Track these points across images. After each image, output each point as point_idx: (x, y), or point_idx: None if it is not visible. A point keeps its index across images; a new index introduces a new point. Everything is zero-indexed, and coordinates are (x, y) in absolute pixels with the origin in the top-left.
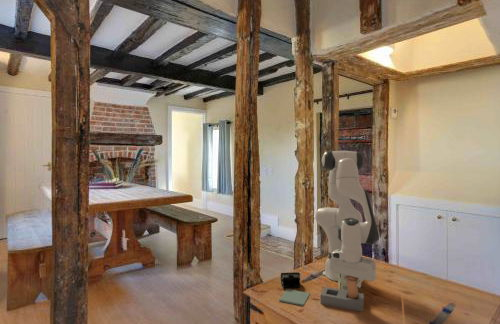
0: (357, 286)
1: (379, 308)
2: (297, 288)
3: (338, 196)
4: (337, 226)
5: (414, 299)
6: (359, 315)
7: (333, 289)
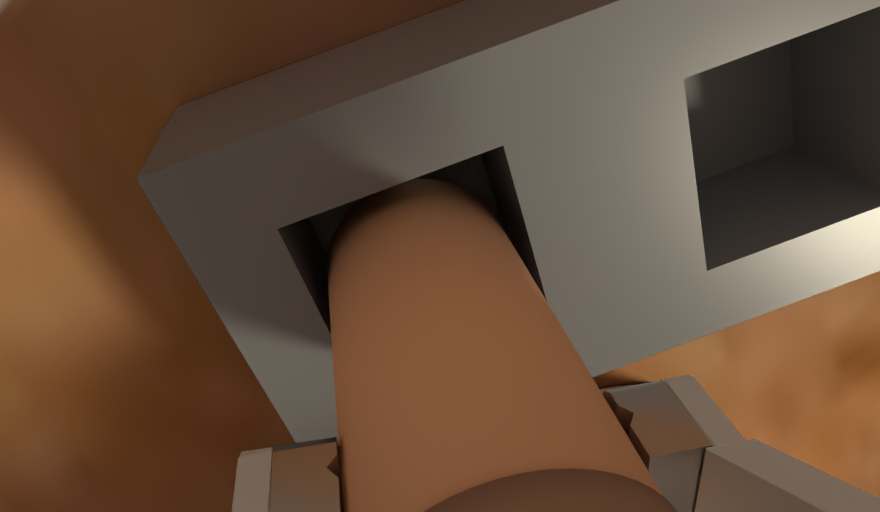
0: (307, 449)
1: (103, 402)
2: None
3: None
4: None
5: None
6: (184, 27)
7: (800, 259)
